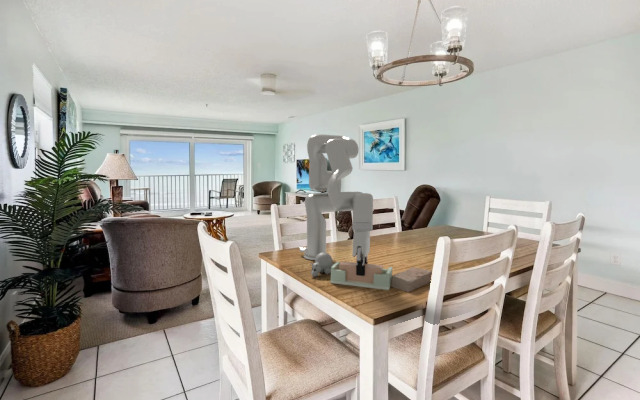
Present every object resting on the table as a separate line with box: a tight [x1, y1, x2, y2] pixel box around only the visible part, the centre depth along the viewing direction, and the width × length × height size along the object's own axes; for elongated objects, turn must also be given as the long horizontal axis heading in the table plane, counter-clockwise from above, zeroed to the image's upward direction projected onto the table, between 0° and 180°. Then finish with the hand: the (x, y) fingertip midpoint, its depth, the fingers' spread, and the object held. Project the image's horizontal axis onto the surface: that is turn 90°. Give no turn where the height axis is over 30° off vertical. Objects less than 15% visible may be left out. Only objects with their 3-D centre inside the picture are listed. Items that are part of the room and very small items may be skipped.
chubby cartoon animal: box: [310, 252, 335, 278], centre depth 136 cm, size 7×12×8 cm, turn 137°
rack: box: [330, 261, 393, 291], centre depth 126 cm, size 22×9×6 cm, turn 70°
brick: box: [390, 266, 433, 293], centre depth 125 cm, size 17×8×5 cm, turn 133°
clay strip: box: [339, 261, 384, 283], centre depth 126 cm, size 16×4×6 cm, turn 72°
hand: (361, 273), depth 125 cm, fingers open, 4 cm apart
